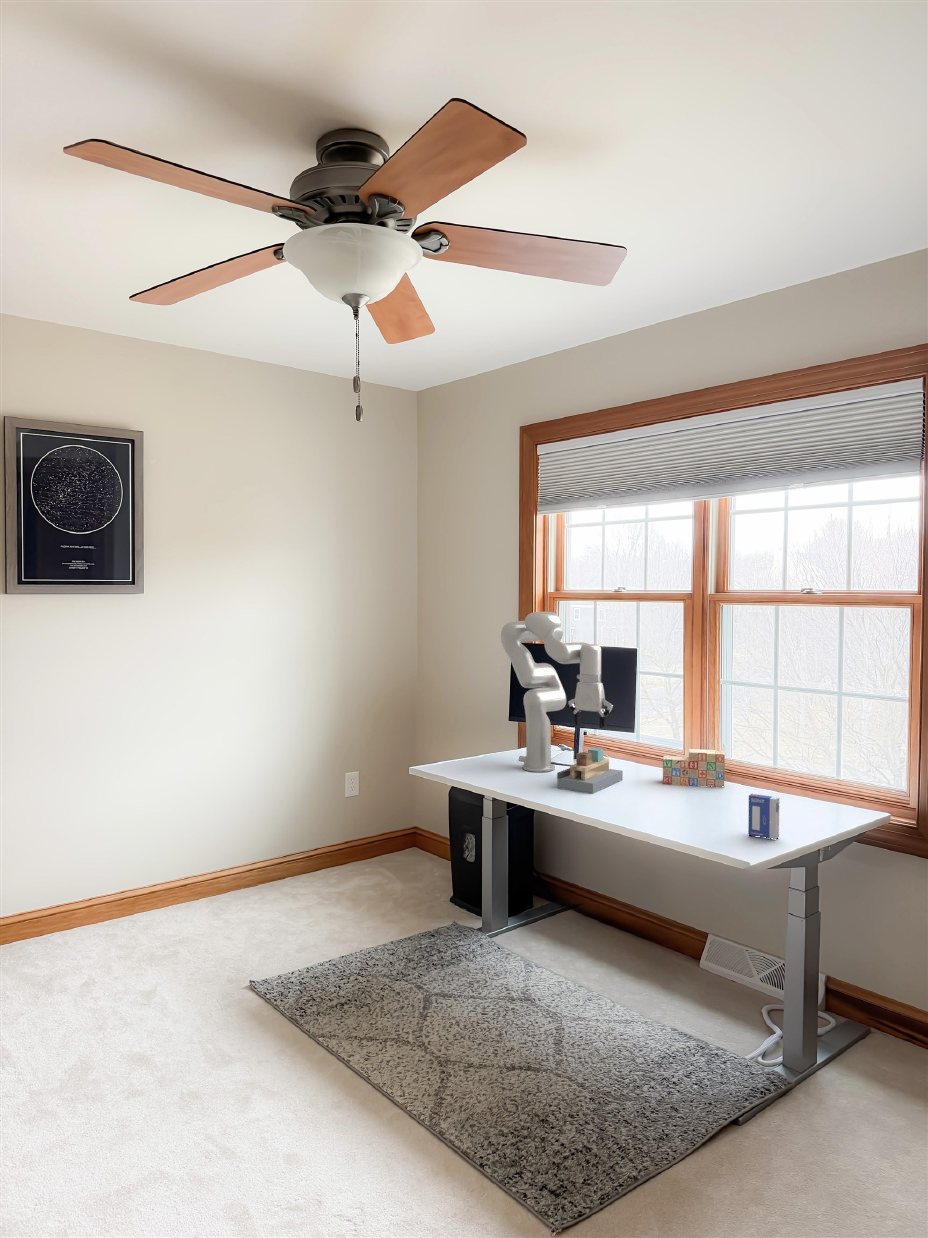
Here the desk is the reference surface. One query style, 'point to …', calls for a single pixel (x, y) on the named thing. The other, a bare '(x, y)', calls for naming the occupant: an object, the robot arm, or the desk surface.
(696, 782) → the stack of blocks
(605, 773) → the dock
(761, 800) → the walkman
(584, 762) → the brown wooden cube
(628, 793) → the desk surface
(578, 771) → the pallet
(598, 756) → the teal cube
